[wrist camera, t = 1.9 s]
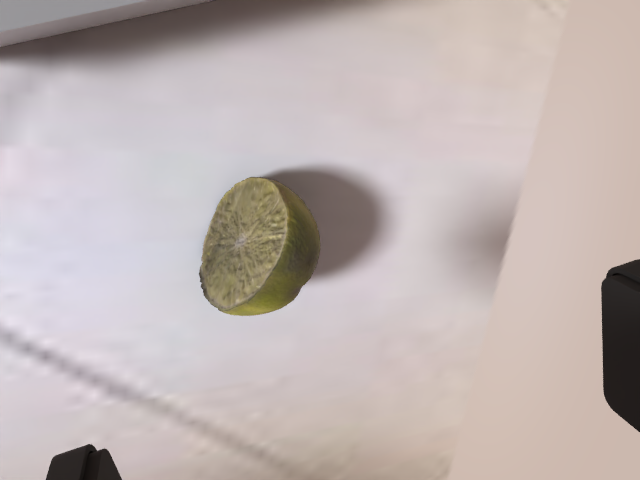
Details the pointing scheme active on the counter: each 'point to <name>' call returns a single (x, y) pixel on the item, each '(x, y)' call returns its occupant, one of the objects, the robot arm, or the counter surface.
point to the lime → (258, 248)
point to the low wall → (72, 15)
